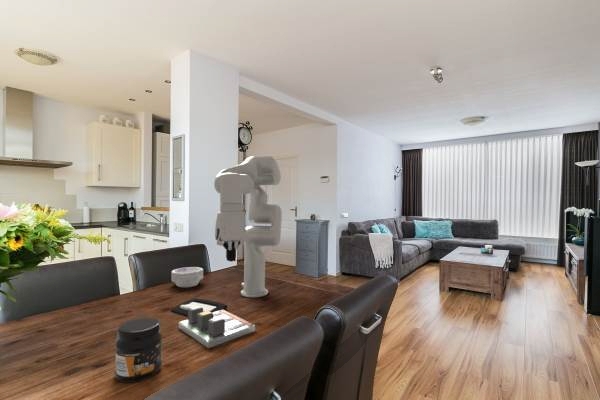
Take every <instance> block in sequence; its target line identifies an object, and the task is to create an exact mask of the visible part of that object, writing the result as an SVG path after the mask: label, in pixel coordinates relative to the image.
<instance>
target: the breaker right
mask: <svg viewBox="0 0 600 400" xmlns="http://www.w3.org/2000/svg"><path fill="white" fill-rule="evenodd" d="M224 332H225V319H223V318H221V317H216V318H213V319H210V320H208V333H209V334H210V335H212V336H216V335H219V334H221V333H224Z"/></svg>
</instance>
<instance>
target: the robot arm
mask: <svg viewBox="0 0 600 400" xmlns="http://www.w3.org/2000/svg"><path fill="white" fill-rule="evenodd" d="M278 165H279V164H278V162H277V161H276V159H275V158H274V156H271V155H253V156H250V157H247V158H246V159H245V160H244V161H243V162H242V163H241V164H237V165H234V166H231V167H228V168H224V169H222V170H221V171H220V172H218V174H217V175H216V176H215V178H214V181H213V182H214V189H215V191H216V192H217V193H218V194H219V197H220V198H219V203H220V205H219V206H220V207H219V208H220V209H219V212H217V216H216V221H215V228H214V229H215V230H214V239H215V240H216V245H217V246H222V247H223V248H224V249H225V258H226V261H228V262H236V259H237V250H238V247H239V246H240V245H241V244H243V251H244V254H243V256H244V257H243V258H244V261H243V262H244V265H243V266H244V267H243V268H244V272H243V273H244V275H243V277H244V279H243V281H244V282H241V284H240V285H241V287H243V289H241V290H240V295H241V296H242V297H245V298H260V297H261V298H262V297H264V296H267V295H268V294H269V290H268V288H266V286H265V285H266V254H265V252H264V251H263V249H262V248H261V247H271V248H273V247H277V246H279V244H280V242H281V234H282V220H283V219H282V218H283V216H282V215H283V213H282V208H281V206H280V205H278V204H273V203H272V204H271V203H270V204H269V203H268V198H269V195H268V193H267V192H266V190H264V189H263V187H262V186H277V185H279V184H280V182H281V178H282V177H281V172H280V167H279V166H278ZM247 194H250V197H249V207H248V215H247V217H248V221H249V222H250V223H251V224H253V225H249V226H246V218H245V213H244V211H243V209H245V208H246V206H245V205H244V204H243V195H247Z"/></svg>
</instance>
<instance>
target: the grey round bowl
mask: <svg viewBox="0 0 600 400" xmlns="http://www.w3.org/2000/svg"><path fill="white" fill-rule="evenodd" d="M203 279H204V268H202V267H198V266H190V267H189V266H188V267H180V268H176V269H173V270H171V282H173V283H174V284H175V285H176V287H179V288H192V287H195V286H198V284H200V283H199V282H200V281H202V280H203Z"/></svg>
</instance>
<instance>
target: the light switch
mask: <svg viewBox="0 0 600 400" xmlns="http://www.w3.org/2000/svg"><path fill="white" fill-rule="evenodd" d="M194 306H200V307H202V308H203V312H205V311H210V312H211V313H213V312H216V311H220V310H225V311H226V309H228V304H226V303H223V302H222V303H221V302H219V301H215V300H211V299H210V300H208V299H203V298H197V297H196V298H194V297H193V298H190V299H189V300H186V301H183V302H181V303H180V304H178V305H176V306H174V307H173V308H171V310H170V312H171V313H173V314H176V315H180V316H184V317H187V318H188V309H189V308H190V307H194Z"/></svg>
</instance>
